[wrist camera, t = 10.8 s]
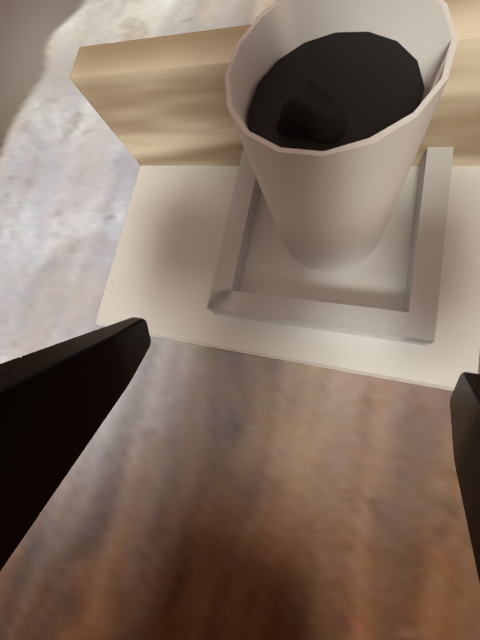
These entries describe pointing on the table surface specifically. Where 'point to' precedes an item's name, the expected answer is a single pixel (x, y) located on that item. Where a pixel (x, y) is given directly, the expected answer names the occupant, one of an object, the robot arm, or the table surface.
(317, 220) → the white coffee cup
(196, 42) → the ash wall board
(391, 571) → the table surface
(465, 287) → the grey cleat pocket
